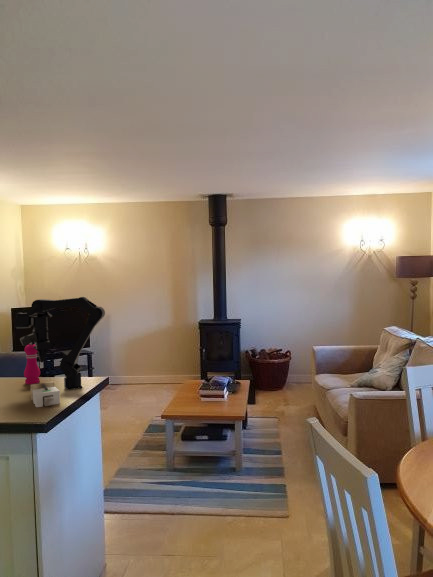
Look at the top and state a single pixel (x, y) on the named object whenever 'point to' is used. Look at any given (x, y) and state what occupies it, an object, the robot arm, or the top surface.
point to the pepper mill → (31, 365)
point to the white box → (46, 399)
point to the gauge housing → (42, 392)
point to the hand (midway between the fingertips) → (41, 362)
